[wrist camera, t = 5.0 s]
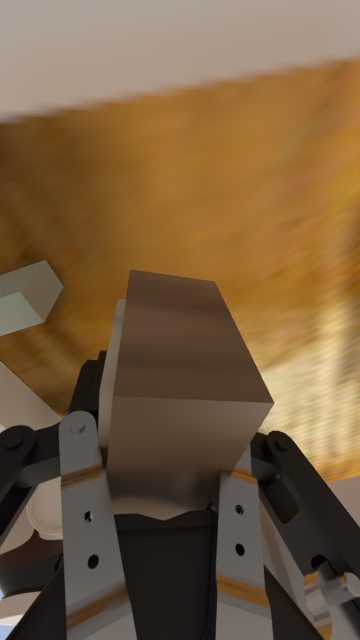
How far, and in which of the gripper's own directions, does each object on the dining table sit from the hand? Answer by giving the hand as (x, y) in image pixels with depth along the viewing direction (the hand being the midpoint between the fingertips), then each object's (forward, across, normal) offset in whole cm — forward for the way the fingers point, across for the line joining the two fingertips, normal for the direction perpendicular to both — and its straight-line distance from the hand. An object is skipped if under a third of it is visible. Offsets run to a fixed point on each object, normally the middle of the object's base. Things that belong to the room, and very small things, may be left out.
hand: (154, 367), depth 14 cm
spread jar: (+7, +8, +27) cm, 29 cm away
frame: (+1, 0, 0) cm, 1 cm away
